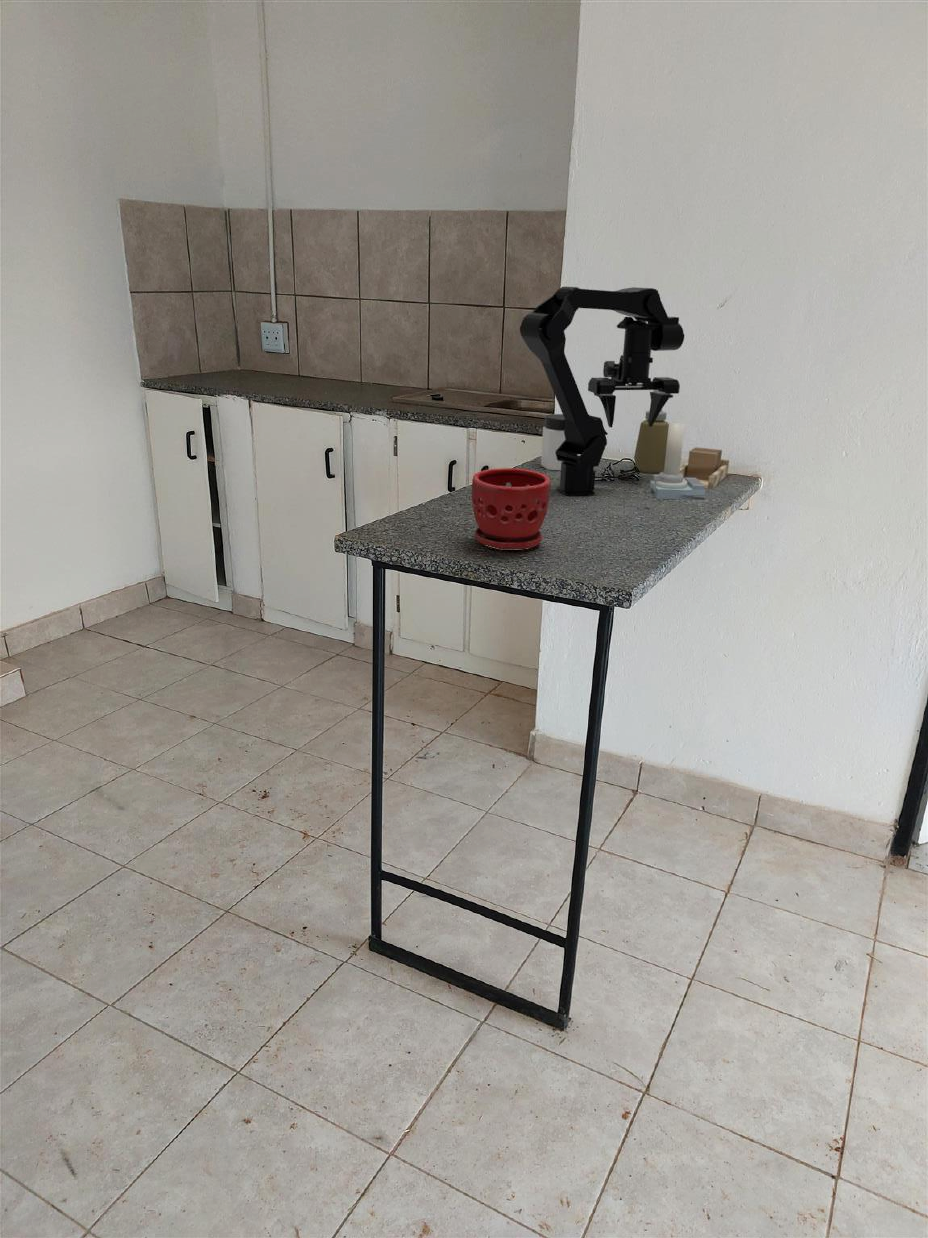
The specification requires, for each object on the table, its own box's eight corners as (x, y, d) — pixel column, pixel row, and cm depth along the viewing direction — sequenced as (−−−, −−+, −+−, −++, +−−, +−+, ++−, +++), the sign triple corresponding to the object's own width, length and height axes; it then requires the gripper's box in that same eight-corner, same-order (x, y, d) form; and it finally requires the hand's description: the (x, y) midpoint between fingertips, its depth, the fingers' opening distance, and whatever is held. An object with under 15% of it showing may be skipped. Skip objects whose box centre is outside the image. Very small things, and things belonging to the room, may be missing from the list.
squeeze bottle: (627, 470, 213) (634, 393, 207) (659, 470, 215) (667, 393, 208) (639, 478, 206) (647, 398, 199) (673, 477, 207) (681, 398, 201)
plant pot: (455, 541, 155) (456, 472, 151) (513, 530, 163) (516, 464, 158) (503, 560, 146) (506, 488, 141) (562, 547, 153) (567, 478, 149)
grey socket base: (656, 498, 188) (658, 484, 187) (649, 489, 195) (650, 476, 194) (704, 499, 188) (706, 485, 187) (694, 490, 195) (696, 477, 194)
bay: (711, 493, 193) (714, 472, 192) (670, 488, 197) (672, 467, 195) (726, 479, 207) (729, 460, 205) (687, 474, 211) (690, 455, 209)
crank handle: (679, 478, 193) (685, 421, 188) (685, 483, 188) (691, 425, 184) (651, 477, 193) (657, 421, 188) (656, 482, 188) (662, 425, 184)
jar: (560, 472, 209) (563, 420, 205) (534, 466, 215) (537, 416, 210) (584, 467, 215) (588, 417, 211) (558, 462, 221) (561, 412, 216)
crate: (713, 480, 200) (716, 454, 198) (686, 477, 203) (689, 451, 201) (718, 476, 205) (722, 449, 203) (692, 472, 208) (695, 447, 206)
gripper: (661, 348, 197) (654, 419, 203) (581, 347, 193) (576, 421, 198) (684, 352, 187) (676, 428, 192) (600, 352, 183) (594, 429, 188)
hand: (630, 426), depth 193 cm, fingers open, 9 cm apart
